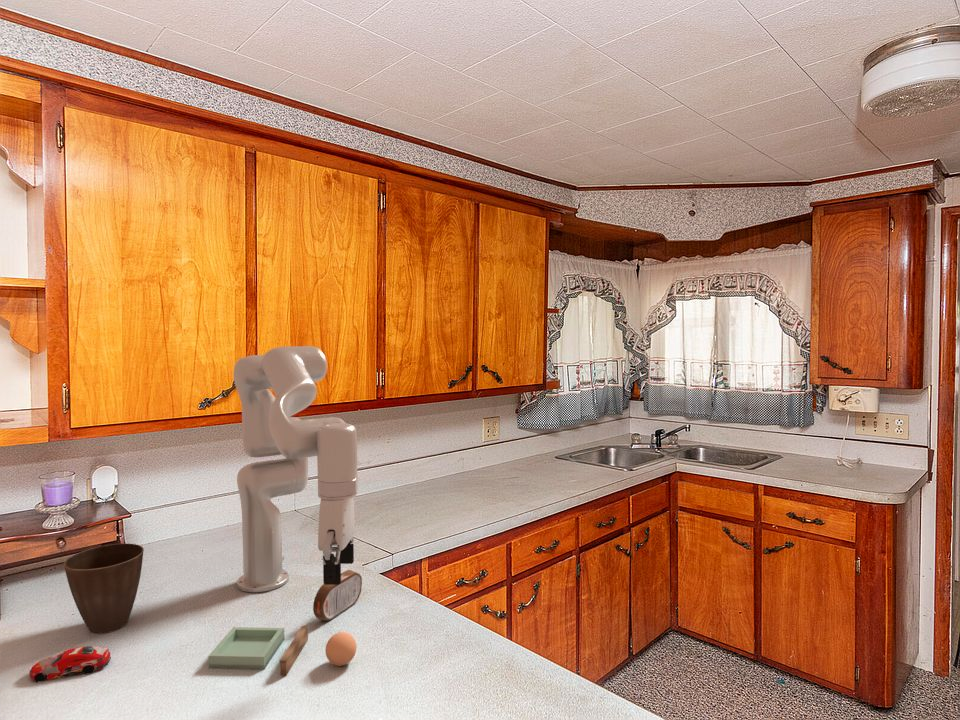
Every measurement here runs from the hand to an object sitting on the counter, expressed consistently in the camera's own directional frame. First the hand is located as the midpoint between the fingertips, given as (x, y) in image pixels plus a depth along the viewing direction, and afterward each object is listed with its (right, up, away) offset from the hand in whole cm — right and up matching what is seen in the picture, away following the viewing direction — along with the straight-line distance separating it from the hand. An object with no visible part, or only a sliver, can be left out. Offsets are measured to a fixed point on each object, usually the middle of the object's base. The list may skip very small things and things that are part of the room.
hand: (339, 573), depth 117 cm
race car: (-52, -19, -1) cm, 55 cm away
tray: (-20, -18, +5) cm, 27 cm away
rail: (-10, -18, +4) cm, 21 cm away
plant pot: (-56, -18, +16) cm, 60 cm away
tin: (-5, -17, +22) cm, 29 cm away
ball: (0, -18, +1) cm, 18 cm away
